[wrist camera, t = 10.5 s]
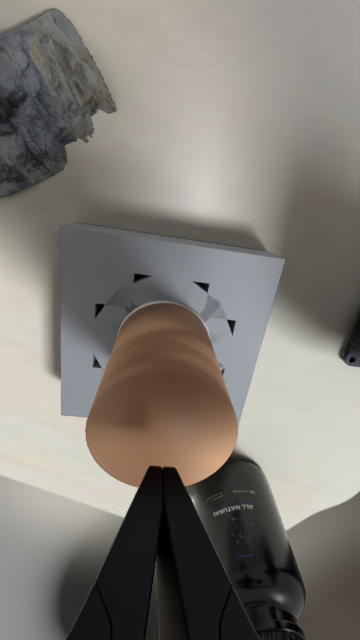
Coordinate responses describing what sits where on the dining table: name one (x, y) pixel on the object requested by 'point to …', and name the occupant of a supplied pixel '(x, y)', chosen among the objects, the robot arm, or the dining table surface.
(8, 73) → the driftwood
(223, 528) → the supplement bottle
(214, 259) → the board
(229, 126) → the dining table surface
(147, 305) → the peg
